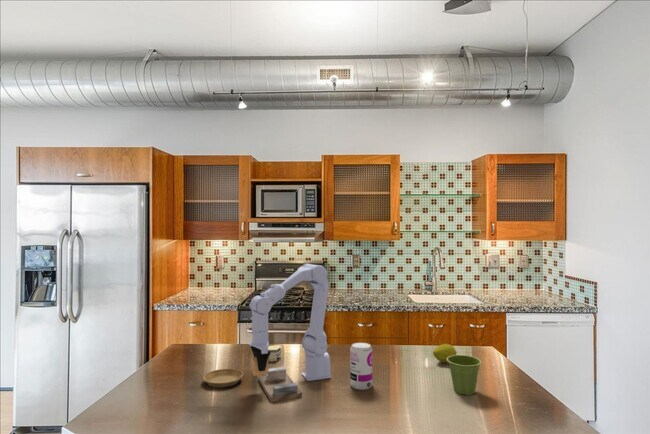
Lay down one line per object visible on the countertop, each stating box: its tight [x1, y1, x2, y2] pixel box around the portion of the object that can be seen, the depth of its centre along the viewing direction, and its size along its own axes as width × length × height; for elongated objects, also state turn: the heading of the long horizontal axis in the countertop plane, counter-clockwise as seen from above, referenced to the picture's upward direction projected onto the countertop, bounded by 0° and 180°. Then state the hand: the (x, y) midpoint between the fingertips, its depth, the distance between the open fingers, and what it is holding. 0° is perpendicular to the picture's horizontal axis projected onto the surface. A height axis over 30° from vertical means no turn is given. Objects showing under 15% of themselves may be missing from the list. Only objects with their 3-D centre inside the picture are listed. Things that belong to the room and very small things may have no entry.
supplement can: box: [349, 342, 373, 391], centre depth 150 cm, size 8×8×15 cm
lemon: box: [432, 343, 457, 364], centre depth 175 cm, size 11×8×8 cm
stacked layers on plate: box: [267, 344, 282, 362], centre depth 180 cm, size 10×9×6 cm
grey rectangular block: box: [265, 366, 287, 382], centre depth 152 cm, size 7×3×4 cm, turn 112°
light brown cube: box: [251, 356, 269, 377], centre depth 145 cm, size 5×5×5 cm
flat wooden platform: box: [257, 373, 303, 403], centre depth 147 cm, size 11×20×4 cm, turn 22°
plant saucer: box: [203, 368, 244, 388], centre depth 154 cm, size 15×15×3 cm
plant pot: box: [447, 354, 482, 396], centre depth 145 cm, size 12×12×11 cm
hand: (260, 368), depth 145 cm, fingers closed on light brown cube, 5 cm apart
